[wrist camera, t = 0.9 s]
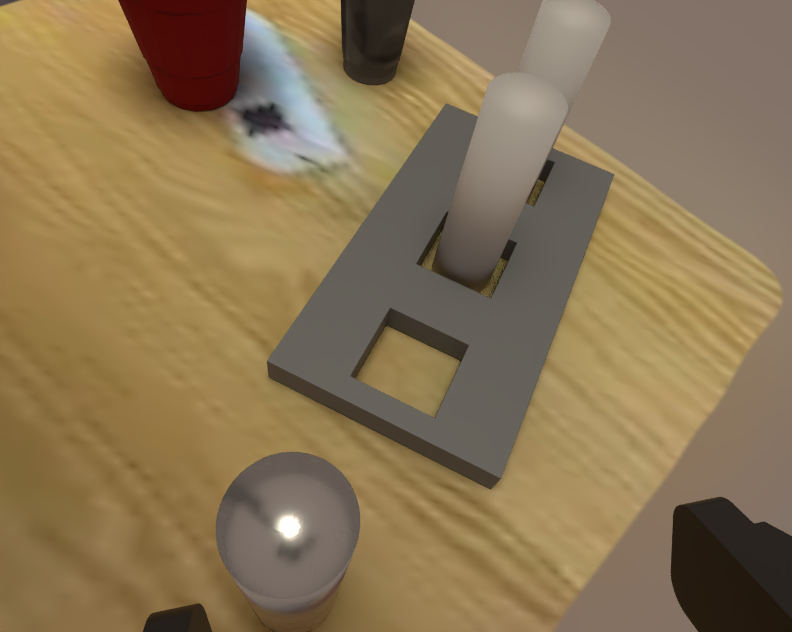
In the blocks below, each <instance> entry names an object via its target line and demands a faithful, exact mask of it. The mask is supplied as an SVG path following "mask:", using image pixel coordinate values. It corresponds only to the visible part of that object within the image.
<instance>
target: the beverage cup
mask: <svg viewBox="0 0 792 632" xmlns="http://www.w3.org/2000/svg"><path fill="white" fill-rule="evenodd" d="M414 1H415V0H341V25H342V50H343V58H344V63H343V65H344V70H345V72H346V73H347V75H348V76H349V77H351V78H352V79H353V80H355V81H358V82H360V83H363V84H368V85H379V84H384V83H386V82H388V81H391V79H392V78H393V77H394V76H395V73H396V68H397V64H398V61H399V60H400V56H401V52H402V48H403V44H404V40H405V37H406V33H407V29H408V25H409V21H410V17H411V13H412V8H413V5H414Z"/></svg>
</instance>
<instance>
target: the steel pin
mask: <svg viewBox="0 0 792 632" xmlns="http://www.w3.org/2000/svg"><path fill="white" fill-rule="evenodd" d="M359 530H360V511H359V505H358V501H357V498H356V495H355V493H354V490H353V488H352V487H351V485H350V483H349V482H348V480H347V479H346V477H345V476H344V475H343V474H342V473H341V472H340V471H339V470H338V469H337V468H336V467H335V466H333V465H332V464H331V463H329V462H327V461H326V460H324V459H322V458H319V457H317V456H314V455H311V454H307V453H301V452H285V453H278V454H274V455H271V456H268V457H265V458H263V459H261V460H259V461H257V462H255V463H253V464H252V465H250V466H249V467H247V468H246V469H245V470H244V471H243V472H241V473H240V474H239V475H238V477H237V478H236V479H235V480H234V481H233V482H232V484H231V485H230V486H229V488H228V490H227V491H226V493H225V495H224V497H223V499H222V502H221V504H220V507H219V511H218V514H217V521H216V540H217V546H218V550H219V553H220V556H221V558H222V561H223V563H224V564H225V566H226V568H227V569H228V571H229V573H230V574H231V576H232V577H233V579H234V580H235V582H236V583H237V585H238V587H239V588H240V590H241V591H242V593H243V594H244V596H245V597H246V599H247V600H248V602H249V604H250V605H251V607H252V608H253V610H254V611H255V613H256V614H257V616H258V617H259V619H260V620H261V621H262V623H263V624H264V625H265V626H266V627H267V628H269V629H270V630H272V631H274V632H308V631H311V630H312V629H314V628H315V627H317V626H318V625H319V624H320V623H321V622H322V621H323V620H324V619H325V618H326V616H327V615H328V613H329V612H330V610H331V608H332V605H333V603H334V600H335V598H336V595H337V593H338V590H339V588H340V585H341V582H342V580H343V577H344V575H345V572H346V570H347V567H348V565H349V562H350V560H351V557H352V555H353V552H354V549H355V547H356V544H357V540H358V537H359Z"/></svg>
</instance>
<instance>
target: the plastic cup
mask: <svg viewBox="0 0 792 632" xmlns="http://www.w3.org/2000/svg"><path fill="white" fill-rule="evenodd" d="M118 1H119V3H120V5H121V7H122V10H123V12H124V14H125V16H126V19H127V21H128V23H129V25H130V28H131V30H132V32H133V34H134V37H135V39H136V41H137V43H138V46H139V48H140V50H141V52H142V55H143V57H144V58H145V59H146V60H147V63H148V65H149V67H150V70H151V72H152V74H153V76H154V79H155V81H156V83H157V86H158V88H159V89H160V90H161V91H162V94H163V95H164V96H165V97H166V99H167V100H168V101H169V102H170V103H172V104H174V105H176V106H178V107H180V108H182V109H187V110H193V111H204V110H213V109H215V108H218V107H221V106H223V105H225V104H226V103H228V102H229V101H230V100H231V99H232V98H233V97H234V94H235V92H236V89H237V85H238V82H239V70H240V56H241V53H242V49H243V38H244V27H245V15H246V4H247V0H118Z"/></svg>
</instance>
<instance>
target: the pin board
mask: <svg viewBox="0 0 792 632" xmlns="http://www.w3.org/2000/svg"><path fill="white" fill-rule="evenodd" d="M610 23H611V18H610V15H609V13H608V12H607V11H606V9H605V8H604V7H602V6H601V5H600V4H599V3H598V2H596V1H594V0H543V1H542V4H541V7H540V10H539V13H538V15H537V18H536V21H535V24H534V27H533V30H532V32H531V35H530V38H529V41H528V44H527V47H526V49H525V52H524V55H523V58H522V61H521V64H520V67H519V69H518V72H512V73H505V74H501V75H499V76H497V77H495V78H494V79H493V80H491V82H490V83H489V85H488V87H487V90H486V94H485V97H484V100H483V103H482V107H481V110H480V113H479V116H478V117H477V116H475V115H473V114H470V113H468V112H465V111H463V110H461V109H458V108H456V107H454V106H451V105H449V104H447V103H446V104H445V106H444V107H443V108H442V110H441V111H440V113H439V114H438V116H437V117H436V119H435V120H434V121H433V123H432V124H431V126H430V127H429V129H428V130H427V132H426V133H425V134H424V136H423V137H422V139H421V140H420V142H419V143H418V144H417V146H416V147H415V149H414V150H413V152H412V153H411V155H410V156H409V157H408V159H407V160H406V162H405V163H404V165H403V166H402V167H401V169H400V170H399V172H398V173H397V175H396V176H395V178H394V179H393V180H392V182H391V183H390V185H389V186H388V188H387V189H386V190H385V192H384V193H383V195H382V196H381V198H380V199H379V201H378V202H377V203H376V205H375V206H374V208H373V209H372V211H371V212H370V213H369V215H368V216H367V218H366V219H365V221H364V222H363V224H362V225H361V226H360V228H359V229H358V231H357V232H356V234H355V235H354V237H353V238H352V239H351V241H350V242H349V244H348V245H347V247H346V248H345V249H344V251H343V252H342V254H341V255H340V257H339V258H338V260H337V261H336V262H335V264H334V265H333V267H332V268H331V270H330V271H329V272H328V274H327V275H326V277H325V278H324V280H323V281H322V283H321V284H320V285H319V287H318V288H317V290H316V291H315V293H314V294H313V295H312V297H311V298H310V300H309V301H308V303H307V304H306V306H305V307H304V308H303V310H302V311H301V313H300V314H299V316H298V317H297V318H296V320H295V321H294V323H293V324H292V326H291V327H290V329H289V330H288V331H287V333H286V334H285V336H284V337H283V339H282V340H281V341H280V343H279V344H278V346H277V347H276V349H275V350H274V352H273V353H272V354H271V356H270V357H269V359H268V360H267V366H268V375H269V377H270V378H272V379H274V380H276V381H278V382H280V383H282V384H284V385H286V386H288V387H290V388H291V389H293V390H295V391H297V392H299V393H301V394H303V395H305V396H307V397H309V398H311V399H313V400H315V401H317V402H319V403H321V404H323V405H325V406H327V407H329V408H331V409H333V410H335V411H337V412H339V413H341V414H343V415H345V416H347V417H349V418H351V419H353V420H355V421H357V422H359V423H361V424H363V425H365V426H367V427H369V428H371V429H373V430H375V431H376V432H378V433H380V434H382V435H384V436H386V437H388V438H390V439H392V440H394V441H396V442H398V443H400V444H402V445H404V446H406V447H408V448H410V449H412V450H414V451H416V452H418V453H420V454H422V455H424V456H426V457H428V458H430V459H432V460H434V461H436V462H438V463H440V464H442V465H444V466H446V467H448V468H450V469H452V470H454V471H456V472H458V473H460V474H461V475H463V476H465V477H467V478H469V479H471V480H473V481H475V482H477V483H479V484H481V485H483V486H485V487H487V488H489V489H491V488H492V487H493V486H494V485H495V484H496V483H497V482H498V481H499V480H500V479H501V477H502V475H503V472H504V469H505V467H506V464H507V461H508V458H509V456H510V453H511V450H512V448H513V445H514V442H515V440H516V437H517V434H518V432H519V429H520V426H521V424H522V421H523V418H524V416H525V413H526V410H527V408H528V405H529V402H530V399H531V397H532V394H533V391H534V389H535V386H536V383H537V381H538V378H539V375H540V373H541V370H542V367H543V365H544V362H545V359H546V357H547V354H548V351H549V349H550V346H551V343H552V340H553V338H554V335H555V332H556V330H557V327H558V324H559V322H560V319H561V316H562V314H563V311H564V308H565V306H566V303H567V300H568V298H569V295H570V292H571V290H572V287H573V284H574V281H575V279H576V276H577V273H578V271H579V268H580V265H581V263H582V260H583V257H584V255H585V252H586V249H587V247H588V244H589V241H590V239H591V236H592V233H593V231H594V228H595V225H596V222H597V220H598V217H599V214H600V212H601V209H602V206H603V204H604V201H605V198H606V196H607V193H608V190H609V188H610V185H611V182H612V180H613V177H614V174H612V173H610V172H608V171H605V170H603V169H601V168H598V167H596V166H594V165H591V164H589V163H586V162H584V161H582V160H579V159H577V158H575V157H572V156H570V155H567V154H565V153H563V152H560V151H558V150H556V149H553V146H554V144H555V142H556V140H557V137H558V135H559V133H560V131H561V129H562V127H563V125H564V122H565V120H566V118H567V116H568V114H569V112H570V110H571V108H572V105H573V103H574V101H575V99H576V97H577V94H578V93H579V90H580V88H581V86H582V84H583V82H584V80H585V78H586V75H587V73H588V71H589V69H590V67H591V65H592V63H593V61H594V58H595V56H596V54H597V52H598V50H599V48H600V46H601V43H602V41H603V39H604V37H605V35H606V33H607V31H608V28H609V26H610ZM538 178H539V179H541V180H543V181H546V182H545V184H544V186H543V188H542V190H541V193H540V195H539V197H538V199H537V201H536V203H535V205H534V206H532V205H530V204H527V203H526V202H527V201H528V199H529V197H530V195H531V193H532V191H533V189H534V187H535V184H536V182H537V180H538ZM440 231H443V232H442V235H441V238H440V241H439V244H438V248H437V251H436V254H435V257H434V261H433V264H432V271H430V270H428V269H426V268H424V267H422V266H421V264H422V262H423V260H424V259H425V257H426V255H427V254H428V252H429V250H430V248H431V247H432V245H433V243H434V242H435V240H436V238H437V236H438V235H439V233H440ZM500 257H501V258H503V259H506V260H508V263H507V265H506V267H505V269H504V271H503V274H502V276H501V278H500V280H499V282H498V284H497V286H496V288H495V291H494V293H493V295H492V297H491V298H489V297H487V296H484V295H482V294H480V293H479V292H481V291H482V290H483V289H484V288H485V287H486V286H487V284H488V282H489V280H490V278H491V276H492V274H493V271H494V269H495V267H496V265H497V263H498V261H499V259H500ZM386 325H388V326H390V327H392V328H394V329H396V330H398V331H400V332H402V333H405V334H407V335H409V336H411V337H413V338H415V339H417V340H419V341H421V342H423V343H425V344H427V345H430V346H432V347H434V348H436V349H438V350H440V351H442V352H444V353H446V354H448V355H450V356H452V357H455V358H457V359H459V360H461V363H460V365H459V367H458V369H457V371H456V374H455V376H454V378H453V380H452V382H451V384H450V386H449V388H448V391H447V393H446V395H445V397H444V399H443V401H442V403H441V406H440V408H439V410H438V412H437V414H436V416H435V418H433V417H431V416H429V415H427V414H425V413H423V412H421V411H419V410H417V409H415V408H413V407H411V406H409V405H407V404H405V403H403V402H401V401H399V400H397V399H395V398H393V397H391V396H389V395H387V394H385V393H383V392H381V391H379V390H377V389H375V388H373V387H371V386H369V385H367V384H365V383H363V382H361V381H359V380H357V379H355V377H356V376H357V374H358V372H359V371H360V369H361V367H362V365H363V364H364V362H365V360H366V358H367V357H368V355H369V353H370V352H371V350H372V348H373V346H374V345H375V343H376V341H377V340H378V338H379V336H380V334H381V333H382V331H383V329H384V328H385V326H386Z"/></svg>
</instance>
